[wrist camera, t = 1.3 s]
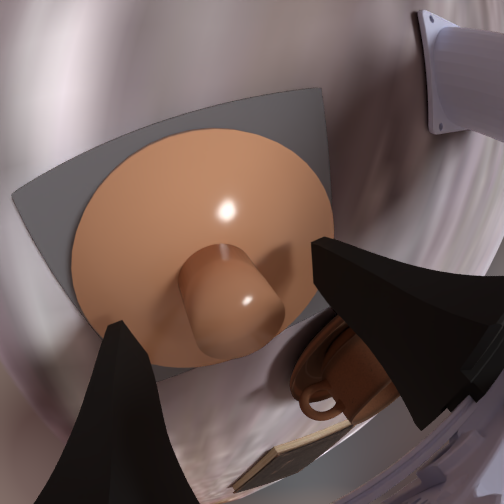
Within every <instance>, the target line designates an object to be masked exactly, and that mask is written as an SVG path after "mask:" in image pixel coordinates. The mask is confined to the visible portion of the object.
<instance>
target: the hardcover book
mask: <svg viewBox="0 0 504 504" xmlns="http://www.w3.org/2000/svg"><path fill="white" fill-rule="evenodd" d="M354 426H355V425H352V424H351V423H350V422H349V420H348V419H347V420H344V421H342V422H340V423H338V424H335V425H333V426H331V427H328V428H326V429H323V430H321V431H318V432H316V433H313V434H310V435H308V436H305V437H302V438H299V439H296V440H294V441H291V442H288V443H285V444H281V445H278V446H275V447H273V448H272V449H271V450H270V451H269V452H268V453H267V454H266V455H265V456H264V457H263V458H262V459H261V460H260V461H259V462H258V463H257V464H256V465H255V466H254V467H253V468H252V469H251V470H250V471H248V472H247V473H246V474H245V475H244V476H243V477H242V478H241V479H240V480H238V481H237V482H236V483H235V484H234V485H233V489H234V490H235V491H234V492H233V493H238V492H241V491H245V490H249V489H252V488H255V487H259V486H262V485H265V484H268V483H271V482H274V481H277V480H279V479H282V478H285V477H287V476H290V475H293V474H295V473H298V472H299V471H301V470H302V469H303V468H304V467H306V466H307V465H309V464H310V463H311V462H313V461H314V460H315V459H317V458H318V457H319V456H321V455H322V454H323V453H324V452H326V451H327V450H328V449H329V448H330V447H332V446H333V445H334V444H335V443H336V442H338V441H339V440H340V439H341V438H342V437H343V436H344V435H346V434H347V433H348V432H349V431H350V430H351V429H352V428H353V427H354Z"/></svg>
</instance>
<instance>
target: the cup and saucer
mask: <svg viewBox="0 0 504 504" xmlns="http://www.w3.org/2000/svg"><path fill="white" fill-rule="evenodd" d="M290 390H291V393H292V396H293V397H294V399H296V400H297V401H299V405H300V408H301V410H302V412H303V413H304V414H305V415H306V416H307V417H309V418H311V419H313V420H317V421H325V420H329V419H332V418H334V417H336V416H337V415H339V414H340V413H342V412H343V413H344V415H345V416H346V418H347V419H348V420H349V422H350V423H351V424H352V425H356V424H359V423H362V422H364V421H366V420H368V419H369V418H371V417H373V416H374V415H376V414H377V413H379V412H380V411H381V410H383V409H384V408H386V407H387V406H388V405H390V404H391V403H392V402H393V401H394V400H395V399H396V398H398V397H399V396H400V394H399V392H398V390H397V389H396V387H395V385H394V384H393V382H392V381H391V379H390V378H389V376H388V375H387V373H386V371H385V370H384V368H383V367H382V365H381V364H380V363H379V361H378V360H377V359H376V357H375V356H374V354H373V353H372V352H371V350H370V349H369V348H368V346H367V345H366V344H365V343H364V342H363V340H362V339H361V338H360V337H359V336H358V335H357V334H356V333H355V332H354V331H353V330H352V329H351V328H350V327H349V326H348V324H347V323H346V322H345V321H344V320H343V319H342V318H341V317H340V316H339V315H337V316H336V317H335V318H333V319H332V320H331V321H330V322H329V323H328V324H327V325H326V326H325V327H324V328H323V329H322V330H321V331H320V332H319V333H318V334H317V335H316V336H315V337H314V338H313V340H312V341H311V342H310V343H309V344H308V346H307V347H306V348H305V350H304V351H303V353H302V354H301V356H300V357H299V359H298V361H297V363H296V365H295V368H294V370H293V373H292V376H291V379H290ZM330 397H333V399H334V400H335V402H336V404H335V406H334V407H333V408H331V409H330V410H328V411H325V412H319V411H316V410H314V409H312V408H311V406H310V405H309V403H312V402H318V401H322V400H325V399H328V398H330Z"/></svg>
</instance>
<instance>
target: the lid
mask: <svg viewBox="0 0 504 504" xmlns="http://www.w3.org/2000/svg"><path fill="white" fill-rule="evenodd" d="M324 236H325V237H328V238H332V239H334V222H333V213H332V209H331V205H330V201H329V199H328V196H327V194H326V191H325V189H324V187H323V185H322V183H321V182H320V180H319V178H318V177H317V175H316V174H315V173H314V171H313V170H312V169H311V168H310V167H309V166H308V164H307V163H306V162H305V161H303V160H302V159H301V158H300V157H299V156H298V155H296V154H295V153H294V152H293V151H291V150H289V149H288V148H286V147H284V146H283V145H281V144H279V143H278V142H275V141H273V140H270V139H268V138H265V137H262V136H260V135H257V134H253V133H250V132H245V131H241V130H236V129H229V128H201V129H192V130H187V131H183V132H179V133H175V134H171V135H168V136H165V137H163V138H161V139H158V140H156V141H154V142H151V143H149V144H147V145H145V146H144V147H142V148H140V149H139V150H137V151H136V152H134V153H132V154H131V155H129V156H128V157H127V158H126V159H124V160H123V161H122V162H121V163H120V164H119V165H117V166H116V167H115V168H114V169H113V170H112V171H111V172H110V173H109V174H108V175H107V177H106V178H105V179H104V180H103V181H102V182H101V184H100V185H99V186H98V187H97V189H96V191H95V192H94V194H93V195H92V197H91V199H90V200H89V202H88V204H87V206H86V208H85V211H84V213H83V216H82V218H81V220H80V223H79V226H78V228H77V231H76V235H75V239H74V244H73V249H72V263H71V271H72V279H73V286H74V290H75V293H76V297H77V300H78V303H79V305H80V307H81V309H82V311H83V313H84V315H85V317H86V318H87V320H88V321H89V323H90V324H91V326H92V327H93V328H94V329H95V330H96V331H97V333H98V334H99V335H100V336H101V337H102V338H104V335H105V332H106V329H107V326H108V325H110V324H113V323H115V322H118V321H120V320H123V322H124V323H125V324H126V326H127V327H128V328H129V330H130V331H131V333H132V334H133V335H134V337H135V338H136V339H137V341H138V342H139V343H140V344H141V346H142V347H143V348H144V350H145V351H146V352H147V353H148V356H149V359H150V363H151V364H154V365H159V366H165V367H176V368H191V367H201V366H208V365H213V364H218V363H222V362H225V361H228V360H232V359H236V358H240V357H244V356H247V355H249V354H251V353H254V352H256V351H257V350H259V349H261V348H262V347H264V346H265V345H266V344H267V343H269V342H270V341H271V340H272V339H273V338H274V337H275V336H277V335H278V334H280V333H281V332H282V331H283V330H284V329H285V328H287V327H288V326H289V325H290V324H291V323H292V322H293V321H294V320H295V319H296V318H297V317H298V316H299V315H300V314H301V313H302V311H303V310H304V309H305V308H306V306H307V305H308V304H309V302H310V301H311V300H312V298H313V297H314V295H315V294H316V292H317V290H318V289H317V288H316V286H315V285H314V284H313V270H312V253H311V242H312V241H315V240H317V239H319V238H322V237H324Z"/></svg>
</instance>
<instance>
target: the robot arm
mask: <svg viewBox="0 0 504 504" xmlns="http://www.w3.org/2000/svg"><path fill="white" fill-rule="evenodd" d="M418 19H419V24H420V30H421V36H422V42H423V49H424V57H425V65H426V76H427V90H428V127H429V131H430V132H431V133H432V134H435V135H438V134H444V133H450V132H456V131H462V130H472V131H475V132H478V133H481V134H483V135H486V136H489V137H491V138H494V139H496V140H499V141H501V142H504V33H498V32H493V31H487V30H480V29H472V28H463V27H459V26H457V25H455V24H454V23H452V22H450V21H448V20H446V19H444V18H442V17H439V16H437V15H435V14H433V13H431V12H428V11H426V10H419V11H418ZM311 253H312V270H313V284H314V285H315V286H316V288H317V289H318V291H319V292H320V294H321V295H322V296H323V298H324V299H325V300H326V302H327V303H328V304H329V305H330V306H331V307H332V308H333V310H334V311H335V312H336V313H337V314H338V315H339V316H340V317H341V318H342V319H343V320H344V321H345V322H346V323H347V324H348V326H349V327H350V328H351V329H352V330H353V331H354V332H355V333H356V334H357V335H358V336H359V337H360V338H361V339H362V340H363V342H364V343H365V344H366V345H367V346H368V348H369V349H370V350H371V352H372V353H373V354H374V356H375V357H376V359H377V360H378V361H379V363H380V364H381V365H382V367H383V368H384V370H385V371H386V373H387V375H388V376H389V378H390V379H391V381H392V382H393V384H394V385H395V387H396V389H397V390H398V392H399V394H400V396H401V397H402V399H403V401H404V402H405V405H406V407H407V408H408V410H409V412H410V414H411V416H412V418H413V421H414V423H415V424H416V426H417V427H418V428H419V429H420V430H421V431H422V430H423V429H424V428H426V427H427V426H428V425H429V424H430V423H431V422H432V421H434V420H435V419H436V418H437V417H438V416H439V415H440V414H441V413H442V412H443V411H444V410H445V409H446V408H448V409H449V411H450V412H451V413H450V414H449V415H448V416H447V417H446V418H445V419H444V420H443V421H442V422H441V423H440V424H439V425H438V426H437V427H436V428H435V429H434V430H433V431H432V432H431V433H430V434H429V435H428V436H426V437H425V438H424V439H423V440H422V441H421V442H420V443H419V444H417V445H416V446H415V447H414V448H413V449H411V450H410V451H409V452H408V453H407V454H405V455H404V456H403V457H401V458H400V459H399V460H397V461H396V462H395V463H394V464H392V465H391V466H390V467H388V468H387V469H386V470H384V471H383V472H381V473H380V474H378V475H377V476H375V477H374V478H372V479H371V480H369V481H368V482H366V483H365V484H363V485H362V486H360V487H358V488H357V489H355V490H353V491H352V492H350V493H348V494H347V495H345V496H343V497H341V498H339V499H338V500H336V501H334V502H332V503H330V504H369V503H370V502H372V501H373V500H375V499H376V498H378V497H380V496H381V495H383V494H384V493H385V492H387V491H388V490H390V489H391V488H393V487H394V486H395V485H396V484H398V483H399V482H401V481H402V480H403V479H405V478H406V477H407V476H408V475H410V474H411V473H412V472H413V471H414V470H416V469H417V468H418V467H419V466H421V465H422V464H423V463H424V462H425V461H426V460H427V461H426V463H424V465H423V466H422V467H421V468H420V469H419V470H418V471H417V473H416V475H417V476H418V477H417V478H416V479H415V480H413V481H412V482H411V483H409V484H408V485H406V486H405V487H404V488H402V489H401V490H400V491H398V492H396V493H395V494H393V495H392V496H390V497H389V498H387V499H386V500H384V501H382V502H381V503H379V504H504V276H472V275H461V274H453V273H447V272H440V271H435V270H430V269H426V268H422V267H417V266H413V265H409V264H406V263H402V262H399V261H396V260H393V259H389V258H386V257H383V256H380V255H377V254H374V253H371V252H369V251H366V250H363V249H360V248H357V247H355V246H352V245H349V244H346V243H343V242H341V241H338V240H335V239H332V238H328V237H325V236H324V237H322V238H319V239H317V240H315V241H312V242H311ZM448 440H449V441H450V442H449V444H448V445H446V446H445V447H443V448H442V449H440V450H439V451H438V452H436V451H437V450H438V449H439V448H441V446H442V445H444V444H445V442H447V441H448ZM435 452H436V453H435ZM434 453H435V454H434ZM433 454H434V455H433ZM432 455H433V456H432ZM431 456H432V457H431ZM34 504H200V503H199V502H198V500H197V498H196V496H195V495H194V493H193V491H192V489H191V487H190V485H189V484H188V482H187V480H186V478H185V476H184V473H183V471H182V469H181V467H180V465H179V463H178V460H177V458H176V455H175V453H174V451H173V448H172V446H171V443H170V440H169V437H168V434H167V430H166V426H165V422H164V418H163V413H162V409H161V404H160V399H159V394H158V389H157V384H156V379H155V376H154V372H153V369H152V366H151V363H150V359H149V356H148V353H147V352H146V351H145V350H144V348H143V347H142V346H141V344H140V343H139V342H138V341H137V339H136V338H135V337H134V335H133V334H132V333H131V331H130V330H129V328H128V327H127V326H126V324H125V323H124V322H123V320H120V321H118V322H115V323H113V324H110V325H108V326H107V329H106V332H105V335H104V338H103V341H102V344H101V347H100V350H99V353H98V357H97V360H96V363H95V366H94V369H93V373H92V376H91V379H90V382H89V385H88V388H87V391H86V394H85V397H84V401H83V404H82V406H81V409H80V412H79V415H78V417H77V420H76V422H75V425H74V428H73V430H72V433H71V435H70V437H69V439H68V441H67V444H66V446H65V448H64V450H63V453H62V455H61V457H60V459H59V461H58V463H57V465H56V467H55V469H54V471H53V473H52V474H51V476H50V478H49V480H48V482H47V483H46V485H45V487H44V488H43V490H42V492H41V493H40V495H39V496H38V498H37V499H36V501H35V502H34Z"/></svg>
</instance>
